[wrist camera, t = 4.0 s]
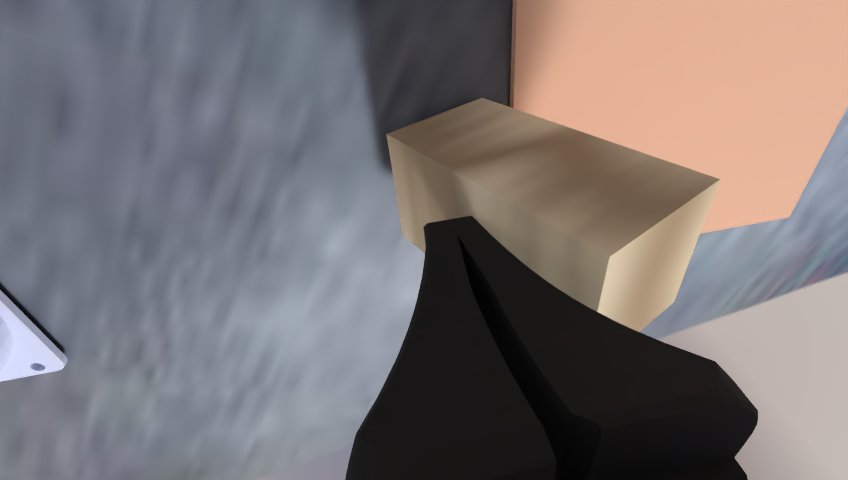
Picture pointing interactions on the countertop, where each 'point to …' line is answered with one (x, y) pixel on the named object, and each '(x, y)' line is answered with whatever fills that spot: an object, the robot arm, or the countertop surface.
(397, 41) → the countertop surface
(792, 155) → the terracotta mat
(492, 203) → the birch block
